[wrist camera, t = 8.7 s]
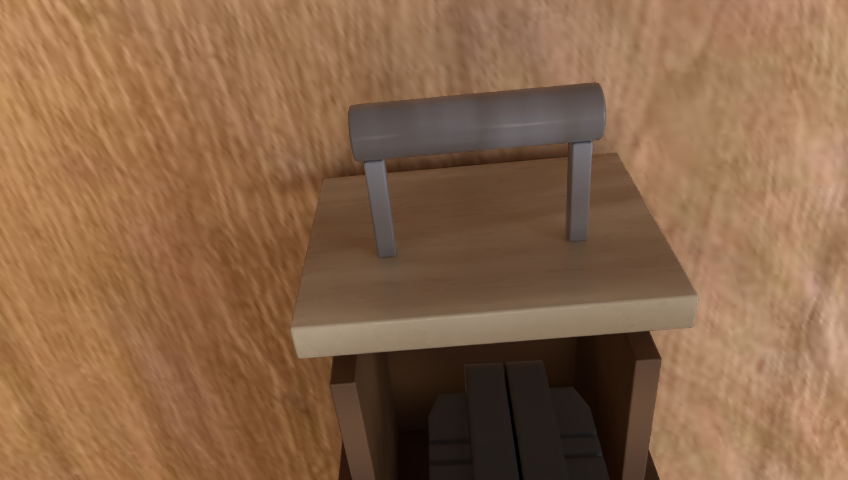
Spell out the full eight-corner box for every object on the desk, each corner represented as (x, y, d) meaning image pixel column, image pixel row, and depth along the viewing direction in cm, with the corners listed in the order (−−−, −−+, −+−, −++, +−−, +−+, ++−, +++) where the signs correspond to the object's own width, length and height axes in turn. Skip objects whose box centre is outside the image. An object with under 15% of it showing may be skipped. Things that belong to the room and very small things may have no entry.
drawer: (297, 51, 23) (245, 171, 16) (628, 19, 23) (730, 127, 16) (372, 428, 34) (361, 601, 27) (597, 411, 34) (649, 583, 26)
